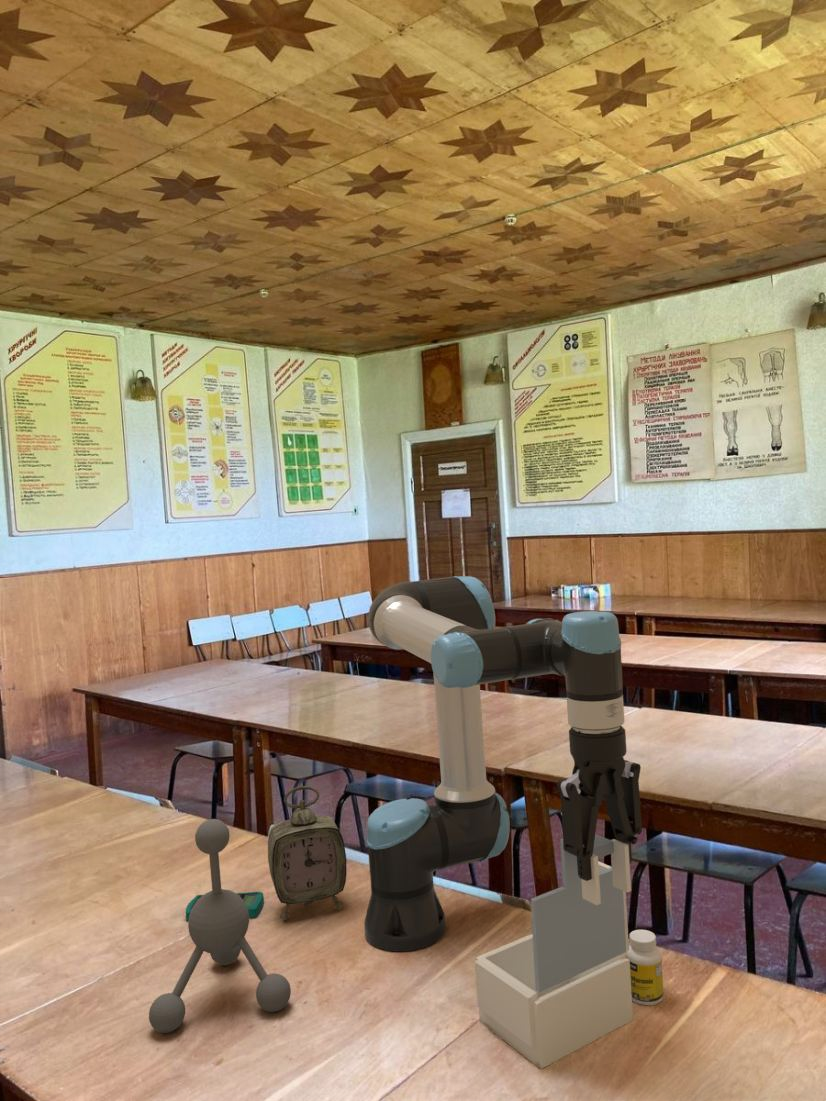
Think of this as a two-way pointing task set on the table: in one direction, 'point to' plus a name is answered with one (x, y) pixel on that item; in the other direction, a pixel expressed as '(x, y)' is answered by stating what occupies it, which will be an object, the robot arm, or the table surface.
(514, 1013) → the carton
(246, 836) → the table surface
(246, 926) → the molecular model
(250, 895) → the digital multimeter
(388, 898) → the robot arm
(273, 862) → the tabletop clock
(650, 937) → the supplement bottle
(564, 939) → the flap
